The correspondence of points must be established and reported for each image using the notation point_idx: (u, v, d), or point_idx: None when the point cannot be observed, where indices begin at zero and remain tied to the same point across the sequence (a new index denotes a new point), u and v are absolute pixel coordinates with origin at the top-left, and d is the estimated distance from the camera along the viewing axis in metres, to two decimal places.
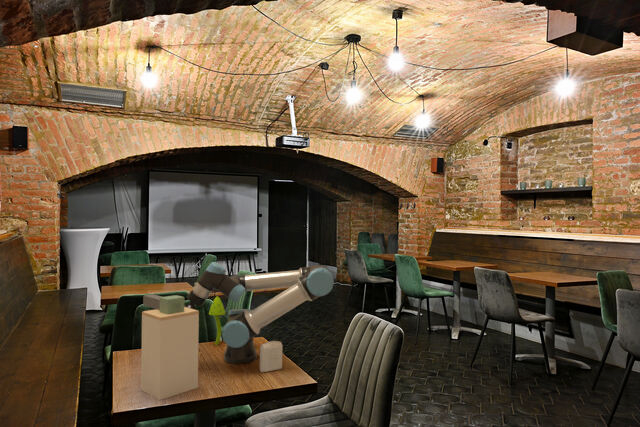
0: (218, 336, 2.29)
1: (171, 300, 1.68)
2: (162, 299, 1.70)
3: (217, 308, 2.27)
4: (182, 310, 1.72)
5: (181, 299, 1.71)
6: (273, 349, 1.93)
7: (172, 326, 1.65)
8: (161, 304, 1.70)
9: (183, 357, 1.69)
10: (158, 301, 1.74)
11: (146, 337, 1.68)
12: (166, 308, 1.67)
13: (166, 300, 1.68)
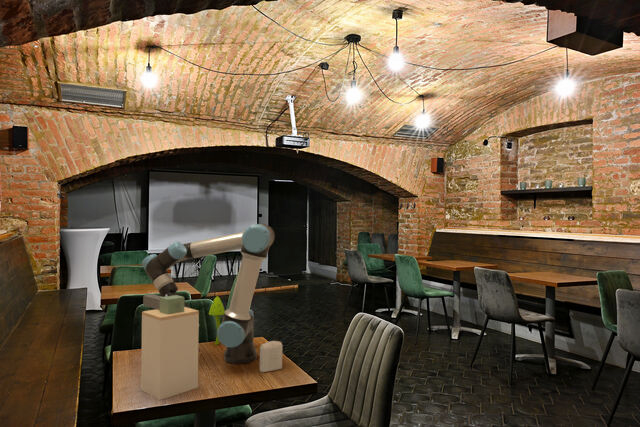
0: None
1: (171, 300, 1.68)
2: (162, 299, 1.70)
3: (217, 308, 2.27)
4: (182, 310, 1.72)
5: (181, 299, 1.71)
6: (273, 349, 1.93)
7: (172, 326, 1.65)
8: (161, 304, 1.70)
9: (183, 357, 1.69)
10: (158, 301, 1.74)
11: (146, 337, 1.68)
12: (166, 308, 1.67)
13: (166, 300, 1.68)
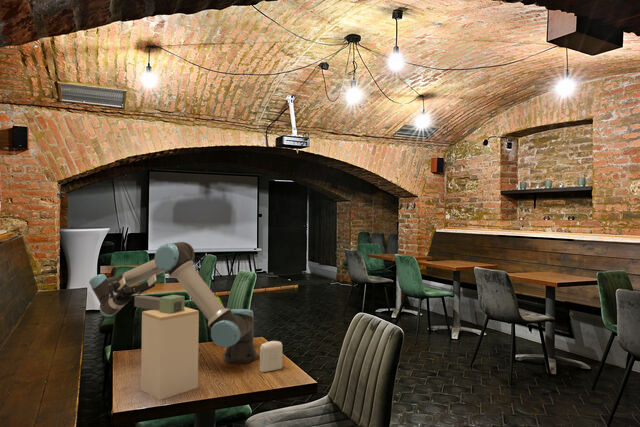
0: None
1: (173, 299, 1.69)
2: (163, 299, 1.70)
3: None
4: (182, 309, 1.73)
5: (182, 298, 1.73)
6: (273, 349, 1.93)
7: (172, 326, 1.65)
8: (161, 304, 1.70)
9: (183, 357, 1.69)
10: (155, 302, 1.74)
11: (146, 337, 1.68)
12: (168, 308, 1.68)
13: (168, 300, 1.68)
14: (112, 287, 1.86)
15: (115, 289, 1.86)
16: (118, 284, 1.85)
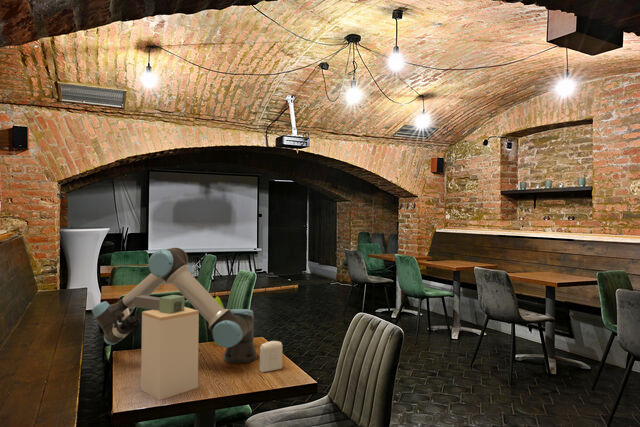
0: None
1: (173, 299, 1.69)
2: (163, 299, 1.70)
3: None
4: (182, 309, 1.73)
5: (182, 298, 1.73)
6: (273, 349, 1.93)
7: (172, 326, 1.65)
8: (161, 304, 1.70)
9: (183, 357, 1.69)
10: (155, 302, 1.74)
11: (146, 337, 1.68)
12: (168, 308, 1.68)
13: (168, 300, 1.68)
14: (116, 318, 1.83)
15: (119, 320, 1.83)
16: (122, 315, 1.81)
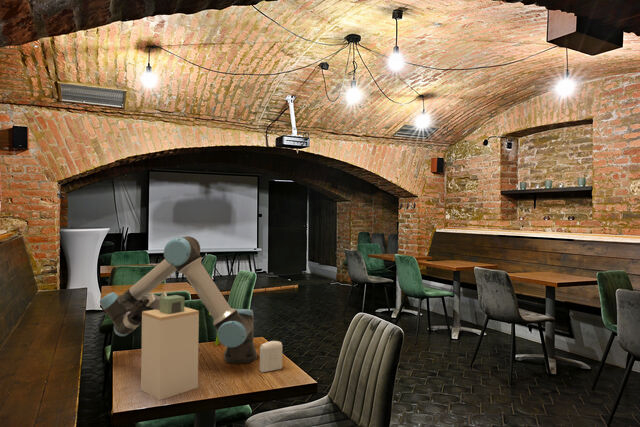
0: None
1: (171, 300, 1.68)
2: (162, 299, 1.70)
3: None
4: (182, 310, 1.72)
5: (181, 299, 1.72)
6: (273, 349, 1.93)
7: (172, 326, 1.65)
8: (161, 304, 1.70)
9: (183, 357, 1.69)
10: (158, 301, 1.75)
11: (146, 337, 1.68)
12: (166, 308, 1.68)
13: (166, 300, 1.68)
14: (140, 304, 1.78)
15: (144, 305, 1.79)
16: (147, 301, 1.77)
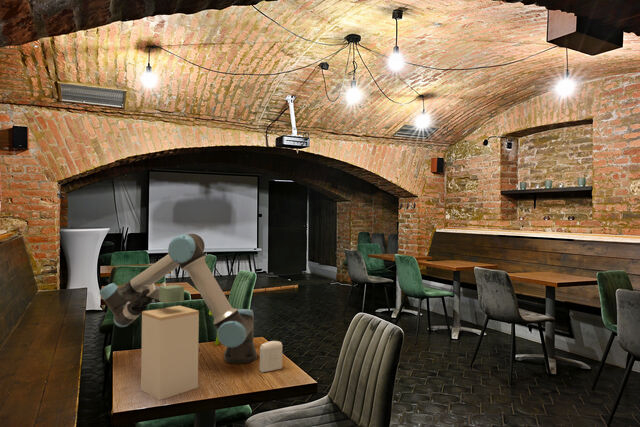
0: None
1: (171, 289, 1.68)
2: (162, 288, 1.70)
3: None
4: (182, 299, 1.72)
5: (180, 288, 1.71)
6: (273, 349, 1.93)
7: (172, 326, 1.65)
8: (160, 293, 1.70)
9: (183, 357, 1.69)
10: (158, 291, 1.75)
11: (146, 337, 1.68)
12: (166, 297, 1.68)
13: (166, 289, 1.68)
14: (141, 293, 1.79)
15: (145, 295, 1.79)
16: (147, 290, 1.77)
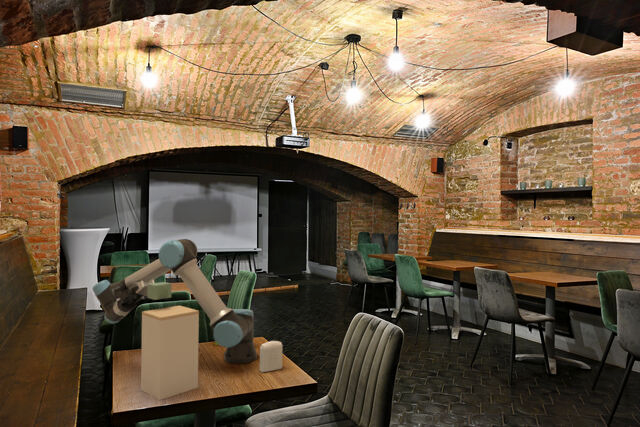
0: None
1: (158, 286, 1.74)
2: (150, 285, 1.75)
3: None
4: (169, 296, 1.78)
5: (168, 285, 1.77)
6: (273, 349, 1.93)
7: (172, 326, 1.65)
8: (148, 290, 1.76)
9: (183, 357, 1.69)
10: (146, 288, 1.80)
11: (146, 337, 1.68)
12: (153, 294, 1.73)
13: (153, 286, 1.74)
14: (130, 290, 1.84)
15: (134, 292, 1.85)
16: (136, 287, 1.83)
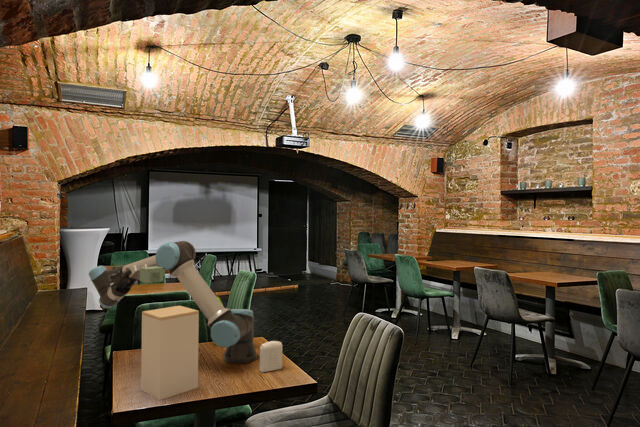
0: None
1: (150, 270, 1.79)
2: (142, 269, 1.80)
3: None
4: (161, 280, 1.82)
5: (160, 269, 1.82)
6: (273, 349, 1.93)
7: (172, 326, 1.65)
8: (141, 274, 1.81)
9: (183, 357, 1.69)
10: (139, 272, 1.85)
11: (146, 337, 1.68)
12: (145, 277, 1.78)
13: (145, 269, 1.78)
14: (123, 275, 1.89)
15: (127, 276, 1.89)
16: (129, 272, 1.88)
